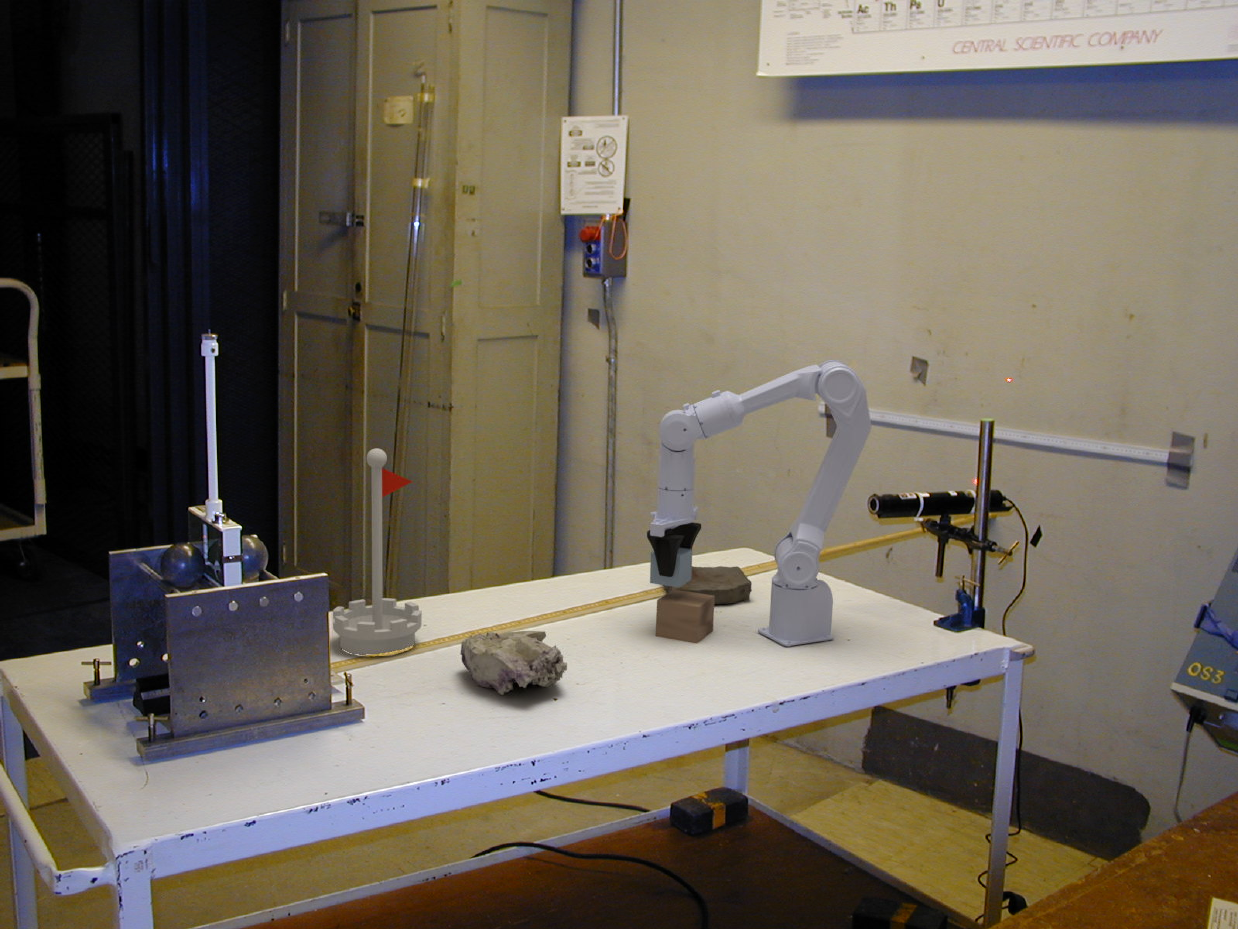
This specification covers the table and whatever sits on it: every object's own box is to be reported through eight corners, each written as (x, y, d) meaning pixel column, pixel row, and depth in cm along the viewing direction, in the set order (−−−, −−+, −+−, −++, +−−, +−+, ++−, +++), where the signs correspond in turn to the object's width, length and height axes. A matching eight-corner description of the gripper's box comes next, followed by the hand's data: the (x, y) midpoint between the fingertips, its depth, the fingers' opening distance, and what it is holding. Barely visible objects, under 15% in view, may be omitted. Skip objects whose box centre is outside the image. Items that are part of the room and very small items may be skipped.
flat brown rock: (658, 581, 219) (659, 559, 219) (737, 582, 221) (739, 560, 220) (669, 608, 203) (671, 585, 202) (755, 610, 204) (756, 586, 203)
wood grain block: (672, 624, 194) (673, 589, 193) (712, 631, 191) (714, 595, 190) (655, 636, 188) (657, 600, 186) (697, 644, 185) (698, 607, 184)
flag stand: (337, 663, 171) (335, 457, 166) (329, 634, 183) (326, 442, 178) (428, 655, 175) (429, 455, 170) (413, 628, 187) (414, 440, 182)
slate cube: (662, 575, 192) (663, 545, 191) (691, 579, 190) (692, 549, 189) (650, 583, 188) (650, 552, 187) (679, 587, 186) (680, 556, 185)
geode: (501, 695, 175) (439, 710, 162) (489, 632, 176) (426, 641, 163) (599, 675, 167) (541, 689, 154) (585, 609, 169) (527, 617, 155)
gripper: (670, 477, 194) (668, 558, 197) (633, 492, 181) (630, 578, 184) (711, 481, 191) (707, 563, 194) (675, 497, 178) (672, 585, 181)
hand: (673, 571), depth 189 cm, fingers closed on slate cube, 5 cm apart
